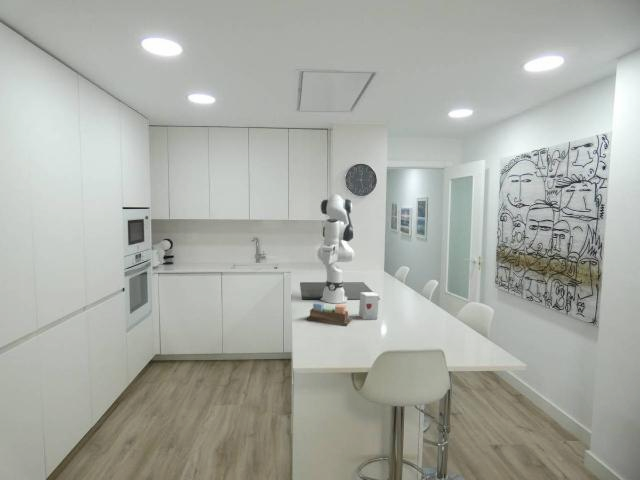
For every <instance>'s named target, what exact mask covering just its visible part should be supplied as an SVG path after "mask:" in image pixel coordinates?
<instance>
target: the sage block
mask: <svg viewBox="0 0 640 480" xmlns="http://www.w3.org/2000/svg"><path fill="white" fill-rule="evenodd" d="M324 308H325V309H324V312H332V313H333V312H334V310H335V307H324Z"/></svg>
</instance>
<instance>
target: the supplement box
mask: <svg viewBox="0 0 640 480" xmlns="http://www.w3.org/2000/svg"><path fill="white" fill-rule="evenodd" d="M379 298H380V295H379V294H377V293H376V292H374V291H366V292H364V291H363V292H362V291H361V292H360V293H359V307H358V317H360V318H362V320H365V321H366V320H369V321H370V320H378V314H379V302H380V301H379Z"/></svg>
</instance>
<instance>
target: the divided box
mask: <svg viewBox="0 0 640 480" xmlns="http://www.w3.org/2000/svg"><path fill="white" fill-rule="evenodd" d="M325 308H326V307H324V309H325ZM305 320H306V321H308V322H309V321H310V322H316V323H323V324H328V325H329V324H330V325H338V326H344V327H347V326H348V325H349V324H350V323H351V320H352V319H351V318H349V311H347V310H345V313H344V314H339V313H335V310H334V312H333V313H332V312H324V310H322V311H316V310H313V307H312V308H311V309H309V315H308V316H307V317H306V319H305Z"/></svg>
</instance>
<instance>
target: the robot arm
mask: <svg viewBox="0 0 640 480" xmlns="http://www.w3.org/2000/svg"><path fill="white" fill-rule="evenodd" d="M320 203H321V204H320V206H319V207H320V208H319V209H320V211H321V214H322V215H327V216H328V217H329V218H328V219H326V221H325V223H324V226H323V227H322V237H324V240H323V244H322V246H320V247H319V248H318V250H317V257H318V259H319V260H320V261H321V263H322V264H323V265H324V266H325V269H326V281H325V287H323V291H322V292H323V293H322V297H321V298H320V300H321V301H323V302H325V303H329V304H342V303H343V304H346V303H348V296H346V295H345V293H346V292H345V289H344V280H343V279H344V277H343V276H344V271H343V269H342V268H341V267H339V266H338V265H336V264H335V263H336V262H338V263H348V262H352V261H353V260H354V259H355V250H354V249H353V248H352V247H351V245H349V244H348V242H350V241H351V240H353V239H354V237H355V230H354V227H353V225H352V220H351V217H350V214H351V213H352V210H353V203H352V201H351V200H350V199H347V198H346V199H344V198H342V196H340V195H339V194H336V193H335V194H332V195H330V196H329V197H328V199H323V200H322V201H321V202H320Z"/></svg>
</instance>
